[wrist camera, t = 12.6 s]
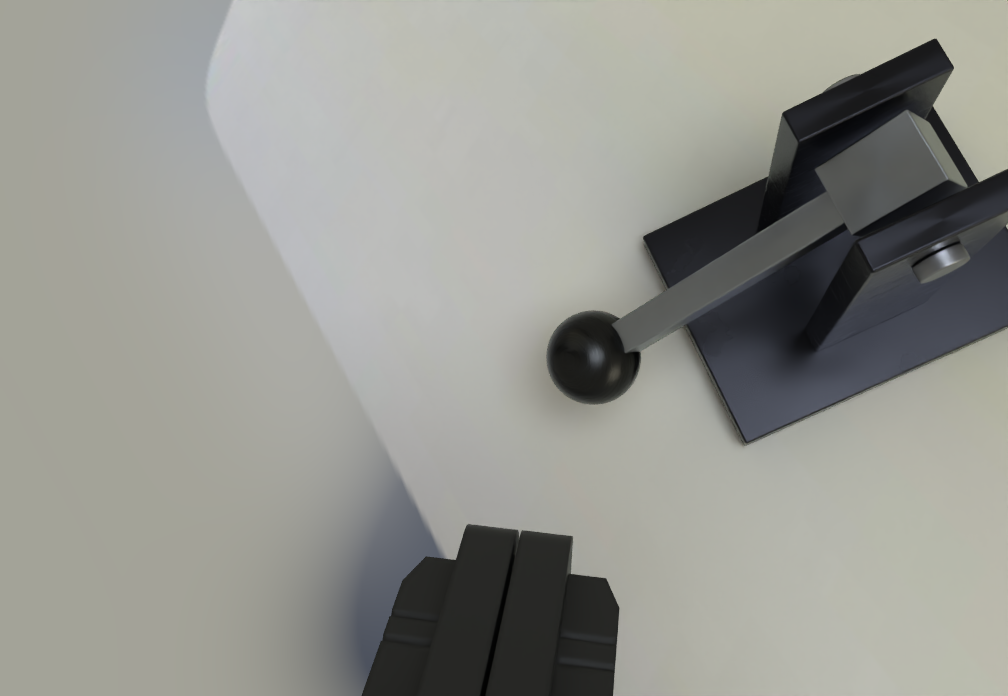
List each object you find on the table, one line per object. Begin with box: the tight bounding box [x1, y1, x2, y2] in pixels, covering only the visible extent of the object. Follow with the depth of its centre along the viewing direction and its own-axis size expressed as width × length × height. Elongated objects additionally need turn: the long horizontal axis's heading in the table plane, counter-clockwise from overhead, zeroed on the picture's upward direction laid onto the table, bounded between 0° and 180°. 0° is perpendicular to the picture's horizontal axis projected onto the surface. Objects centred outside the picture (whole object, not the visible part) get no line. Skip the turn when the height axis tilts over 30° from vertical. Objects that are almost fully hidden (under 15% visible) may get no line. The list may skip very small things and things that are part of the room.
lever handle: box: [546, 110, 967, 405], centre depth 30 cm, size 14×3×3 cm, turn 114°
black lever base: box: [643, 39, 1008, 446], centre depth 31 cm, size 12×9×13 cm
